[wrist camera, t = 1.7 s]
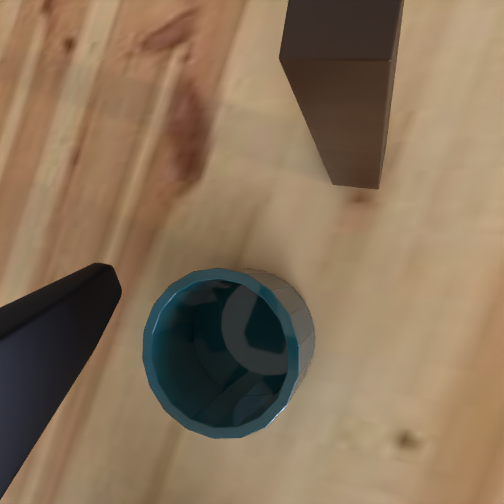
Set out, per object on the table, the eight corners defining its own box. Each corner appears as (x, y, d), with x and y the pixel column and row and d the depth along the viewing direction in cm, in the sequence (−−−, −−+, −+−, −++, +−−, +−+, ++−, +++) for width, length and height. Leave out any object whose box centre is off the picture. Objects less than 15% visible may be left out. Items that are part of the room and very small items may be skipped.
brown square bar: (378, 189, 20) (391, 60, 8) (332, 184, 21) (277, 58, 9) (386, 144, 20) (411, -57, 8) (339, 140, 21) (295, -49, 9)
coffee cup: (325, 398, 21) (312, 437, 16) (196, 405, 23) (150, 440, 18) (305, 260, 21) (286, 257, 16) (182, 278, 23) (133, 280, 19)
